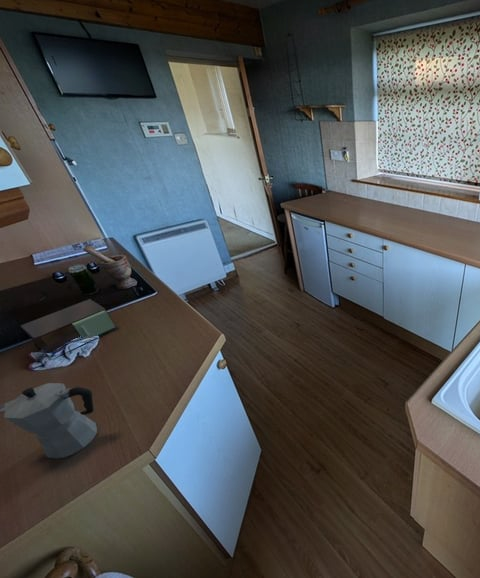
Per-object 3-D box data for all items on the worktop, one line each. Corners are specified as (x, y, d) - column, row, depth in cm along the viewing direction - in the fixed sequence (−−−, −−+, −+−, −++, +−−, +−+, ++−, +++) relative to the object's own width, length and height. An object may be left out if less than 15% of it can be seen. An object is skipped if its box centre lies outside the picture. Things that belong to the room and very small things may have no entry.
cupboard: (52, 359, 92) (36, 340, 88) (35, 344, 98) (20, 325, 94) (119, 328, 105) (108, 310, 101) (100, 316, 111) (89, 298, 107)
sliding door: (85, 341, 98) (73, 325, 94) (82, 340, 99) (71, 323, 95) (116, 327, 104) (106, 311, 101) (113, 325, 105) (104, 310, 101)
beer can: (100, 287, 129) (86, 263, 122) (98, 293, 125) (83, 268, 119) (84, 291, 126) (69, 266, 120) (82, 296, 122) (66, 271, 116)
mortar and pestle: (106, 295, 124) (81, 251, 113) (105, 286, 129) (81, 245, 119) (139, 286, 130) (118, 244, 120) (137, 278, 136) (117, 238, 125)
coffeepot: (25, 469, 64) (-35, 419, 55) (49, 432, 72) (-1, 382, 62) (111, 445, 69) (69, 395, 60) (125, 412, 76) (89, 363, 67)
